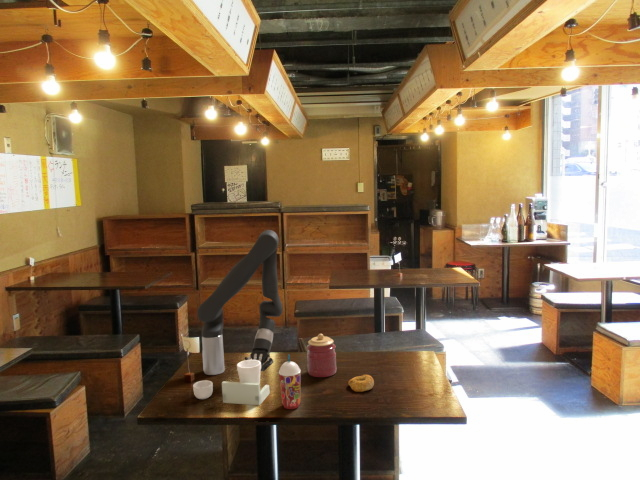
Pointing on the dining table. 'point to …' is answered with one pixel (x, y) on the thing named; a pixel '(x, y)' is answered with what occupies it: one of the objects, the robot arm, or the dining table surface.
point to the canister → (321, 357)
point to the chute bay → (244, 393)
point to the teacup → (203, 389)
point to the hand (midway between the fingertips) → (254, 379)
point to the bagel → (361, 383)
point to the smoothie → (290, 384)
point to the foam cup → (249, 371)
